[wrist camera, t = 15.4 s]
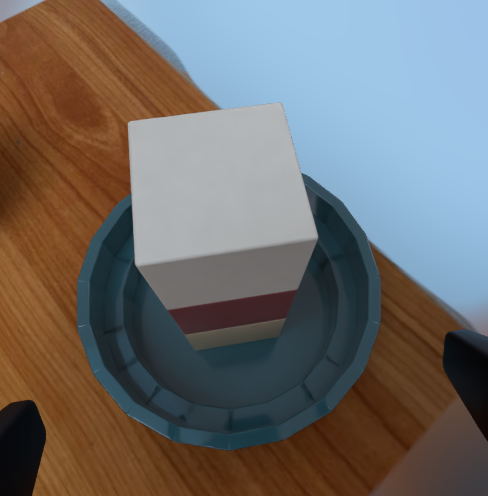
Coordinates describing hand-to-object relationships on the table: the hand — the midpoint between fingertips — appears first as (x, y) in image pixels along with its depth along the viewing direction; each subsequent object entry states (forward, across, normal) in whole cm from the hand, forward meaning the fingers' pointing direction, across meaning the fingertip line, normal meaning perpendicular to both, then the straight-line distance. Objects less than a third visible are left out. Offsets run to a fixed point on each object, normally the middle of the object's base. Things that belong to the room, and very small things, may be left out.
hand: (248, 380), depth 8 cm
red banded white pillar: (+12, 0, +5) cm, 13 cm away
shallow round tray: (+13, 0, +5) cm, 14 cm away
